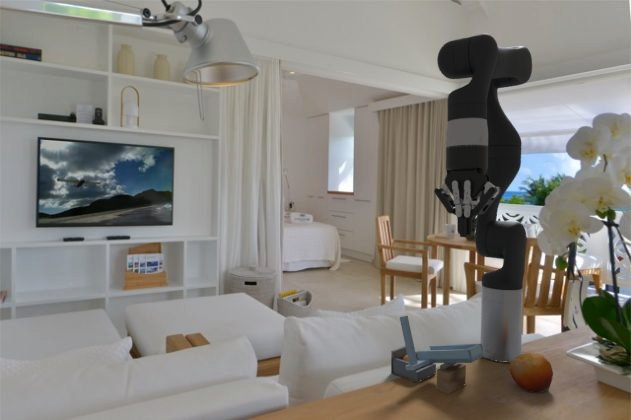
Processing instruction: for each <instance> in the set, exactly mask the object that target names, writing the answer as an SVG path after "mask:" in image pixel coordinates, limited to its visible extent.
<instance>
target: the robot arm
mask: <svg viewBox="0 0 631 420" xmlns="http://www.w3.org/2000/svg"><path fill="white" fill-rule="evenodd" d="M436 61H437V67H438V70H439V72H440V73H441V75H443V76H444V77H445V78H447V79H449V80H461V79H470V78H471V80H470V81H469V82H468V83H467V84H465V85H464V86H460V87H459V88H456V89H454V90H452V91H451V92H450V93H449V94H448V96H447V121H446V122H447V123H446V132H445V170H446V175H445V178H444V183H443V184H442V185H441V186H439V187H435V188H434V191H433V192H434V194H435V195H436V197H437V198H438V199H439V201H440V203H441V204H442V206H443V207H444V208H445V210H446V211H447V213H448V214H450V215H451V214H452V215H454V216H456V218H457V219H456V220H457V226H456V229H457V234H458V235H459V237H460V238H472V237H473V235H475V236H474V237H475V240H474V241H475V242H474V243H475V247H476V251H477V253H478V254H479V255H480V256H481V257H485V258H491V259H498V260H499V259H500V260H503V265H502V267H500V268H498V269H497V270H492V271H487V272H485V273H483V274H482V276H481V295H480V296H481V300H480V301H481V306H480V307H481V309H480V310H481V311H480V344H482V346H483V351H484V355H485V356H484V357H483V358H485V357H486V358H485V359H487V358H488V359H487V360H489V359H492V360H491V361H493V360H497V361H507V362H511V361H512V360H513V359H515V358H516V357H517V356H519V355H521V354H522V342H523V341H522V338H523V337H522V335H523V332H522V331H523V290H524V289H523V287H524V285H523V284H524V279H525V272H526V271H525V267H526V265H525V264H526V256H527V255H526V253H527V231H526V227H525V226H524V225H523V224H522V223H521V222H518V221H512V220H511V221H505V220H497V218H498V217H497V216H498V209H499V206H500V203H501V200H502V198H503V196H504V195H505V193H506V191H507V190H508V189H509V188H510V185H511V184H512V183H513V182H514V180H515V179H516V177H517V175H518V174H519V171H520V169H521V165H522V139H521V136H520V134H519V133H518V130H517V129H516V127H515V126H514V125H513V123H512V122H511V121H510V119H509V118H508V117H507V115H506V113H505V111H504V109H503V108H502V106H501V103H500V101H499V96H498V90H499V89H501V88H502V89H503V88H509V87H517V86H520V85H523V84H526V83H528V81H529V80H530V79H531V76H532V71H533V58H532V54H531V52H530V49H529V48H527V46H524V45H514V46H509V47H503V46H499V45H498V42H497V40H496V39H495V38H494V37H493V36H492V35H491V34H489V33H480V34H475V35H469V36H467V37H462V38H458V39H457V38H456V39H452V40H449V41H447V42H446V43H444V44H443V45H442V46H441V48H440V49H439V52H438V55H437V60H436ZM450 194H451V195H452V196H451V195H450ZM452 197H453V198H452ZM497 361H496V362H497Z"/></svg>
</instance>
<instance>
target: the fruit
mask: <svg viewBox="0 0 631 420" xmlns="http://www.w3.org/2000/svg"><path fill="white" fill-rule="evenodd" d="M508 369H509V373H510V375H511V378H512V379H513V381H514V382H515V383H516V385H517V386H519V387H520V388H521V389H522V390H524V391H526V392H528V393H529V392H530V393H542V392H547V393H549V391H550V387H551V385H552V380H553V376H554V372H553V368H552V364H551V362H550V361H549V360H548V359H547V358H546V357H545V356H544V355H541V354H539V353H535V352H528V353H527V352H525V353H521V355H519V356H517V357H516V358H515V359H513V360H512V361H511V363H509V365H508Z"/></svg>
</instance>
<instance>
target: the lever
mask: <svg viewBox="0 0 631 420" xmlns="http://www.w3.org/2000/svg"><path fill="white" fill-rule="evenodd" d="M399 320H400V321H399V322H400V325H401V332H402V335H403V341H404V346H406V351H407V355H408V360H409V365H406V366H405V367H406V370H416V369H418V368H420V367H423V366H425V365H427V364H429V363H435V364H444V363H460V364H472V363H474V362H476V361H477V360H480V359H482V358H485V357H484V356H485V355H484V351H483V346H482V344H481V343H463V344H437V345H436V344H435V345H433V344H432V345H429V350H428V349H427V350H417V351H416V349H415V348H416V347H415V344H414V339H413V334H412V331H411V330H412V329H411V325H410V321H409V316H408V315H401V316H399ZM416 352H417V356H418V361H417V357H416Z"/></svg>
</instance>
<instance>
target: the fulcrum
mask: <svg viewBox="0 0 631 420" xmlns="http://www.w3.org/2000/svg"><path fill="white" fill-rule="evenodd" d="M439 366H440V367H439V369H436V390H437V389H438V390H437V391H439V390H440V391H439V392H442V391H443V392H442V393H444V394H447V395H449V394H450V393H453V392H454V391H456V390H458V389H460V388H462V387H463V386H465V385H466V382H467V381H466V380H467V379H466V378H467V375H466V374H467V372H466V371H467V365H466V364H465V363H440V365H439ZM464 384H465V385H464ZM462 385H463V386H462ZM459 387H460V388H459Z"/></svg>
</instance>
